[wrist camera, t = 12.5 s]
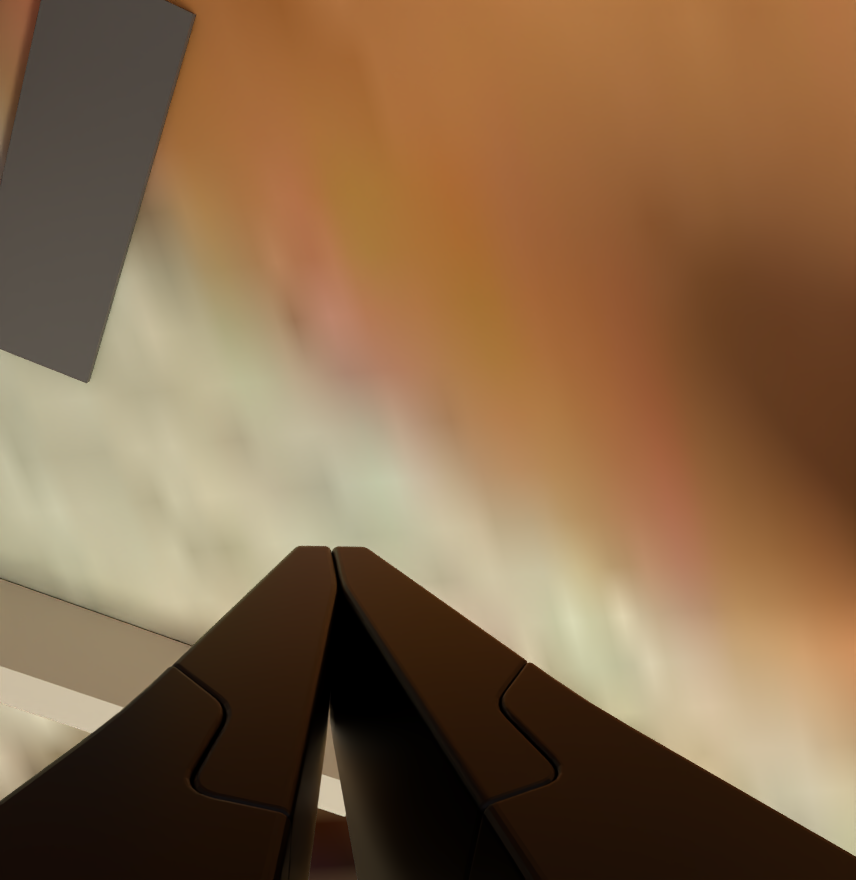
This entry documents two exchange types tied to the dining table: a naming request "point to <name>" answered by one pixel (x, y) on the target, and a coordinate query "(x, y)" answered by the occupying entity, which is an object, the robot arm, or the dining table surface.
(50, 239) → the trap box
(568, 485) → the dining table surface
